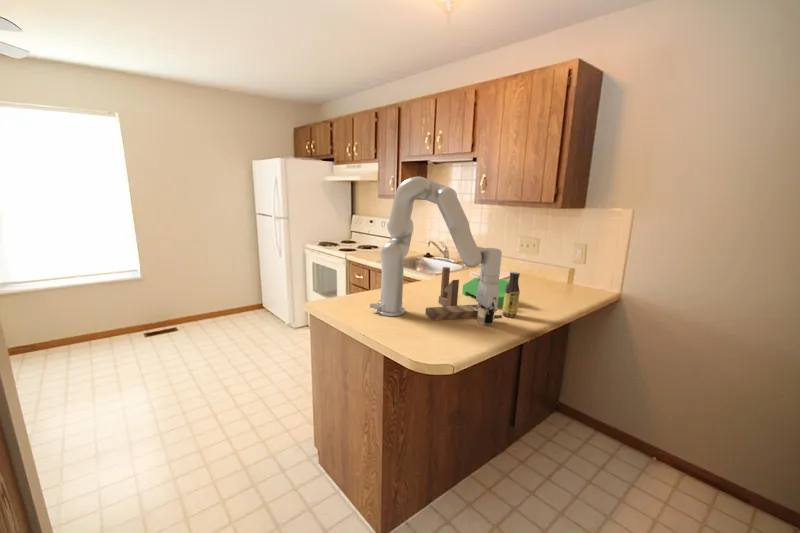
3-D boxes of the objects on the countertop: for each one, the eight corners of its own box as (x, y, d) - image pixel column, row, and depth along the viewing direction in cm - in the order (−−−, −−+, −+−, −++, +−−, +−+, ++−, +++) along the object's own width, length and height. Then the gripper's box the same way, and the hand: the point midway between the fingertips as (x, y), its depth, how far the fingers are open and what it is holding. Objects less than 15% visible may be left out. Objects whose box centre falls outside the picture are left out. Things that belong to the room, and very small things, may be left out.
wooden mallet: (450, 309, 163) (453, 271, 160) (438, 303, 173) (440, 267, 169) (457, 309, 165) (460, 271, 161) (444, 302, 174) (447, 266, 171)
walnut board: (432, 320, 148) (433, 313, 148) (425, 314, 156) (425, 307, 155) (490, 316, 157) (491, 309, 156) (481, 310, 164) (481, 303, 164)
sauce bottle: (508, 318, 155) (513, 274, 151) (498, 314, 160) (503, 271, 156) (519, 317, 158) (525, 273, 154) (509, 312, 163) (514, 270, 159)
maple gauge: (482, 325, 145) (484, 311, 144) (477, 321, 150) (478, 307, 148) (503, 323, 149) (505, 309, 147) (497, 319, 153) (498, 306, 152)
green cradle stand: (512, 306, 174) (514, 282, 172) (490, 308, 169) (492, 284, 166) (482, 292, 196) (484, 271, 193) (462, 294, 190) (464, 272, 188)
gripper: (471, 274, 151) (467, 314, 155) (492, 284, 135) (488, 329, 139) (486, 273, 153) (482, 313, 157) (509, 283, 138) (504, 327, 142)
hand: (485, 320), depth 148 cm, fingers closed on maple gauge, 4 cm apart
